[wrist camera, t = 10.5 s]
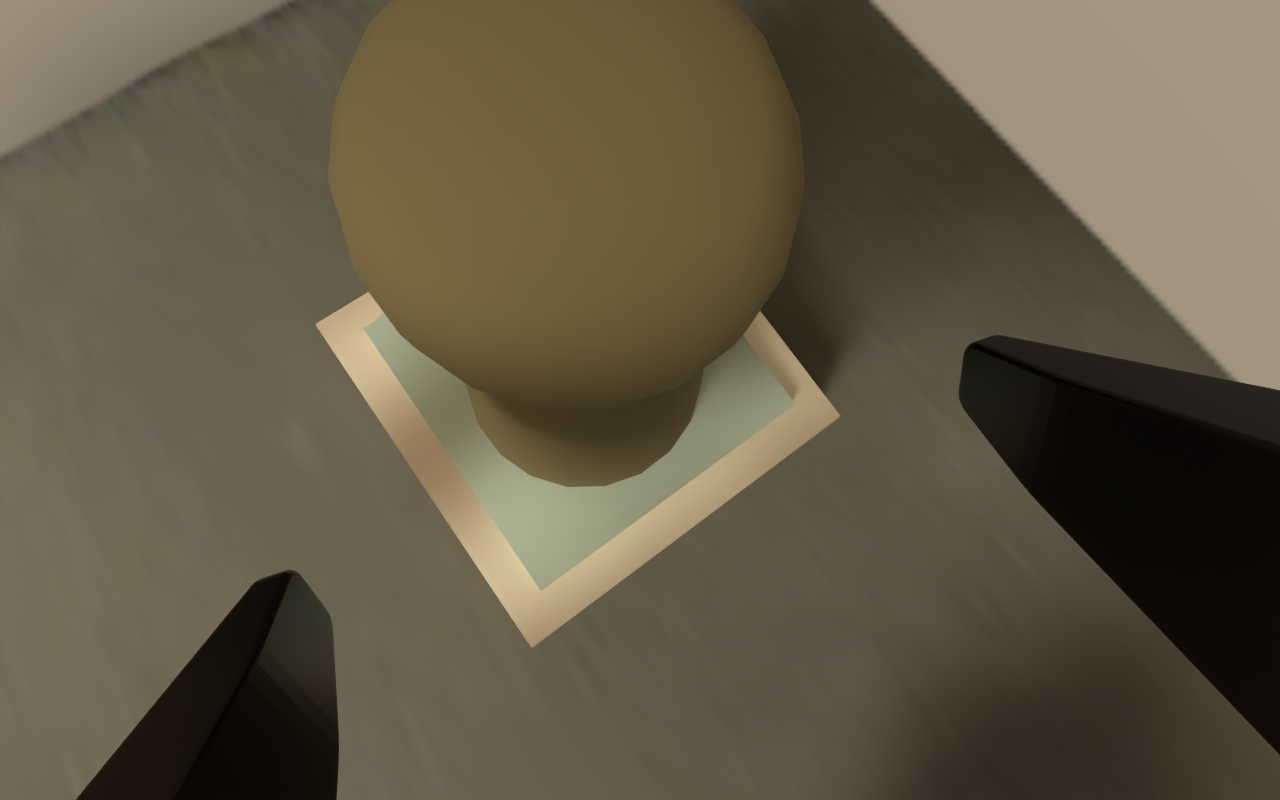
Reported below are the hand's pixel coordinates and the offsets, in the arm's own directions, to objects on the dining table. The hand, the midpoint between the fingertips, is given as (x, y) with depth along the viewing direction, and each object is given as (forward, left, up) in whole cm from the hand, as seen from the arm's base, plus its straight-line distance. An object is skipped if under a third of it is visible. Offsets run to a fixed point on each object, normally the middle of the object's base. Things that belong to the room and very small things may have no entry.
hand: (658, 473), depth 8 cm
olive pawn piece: (+3, -1, -8) cm, 9 cm away
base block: (+3, -1, -11) cm, 12 cm away
